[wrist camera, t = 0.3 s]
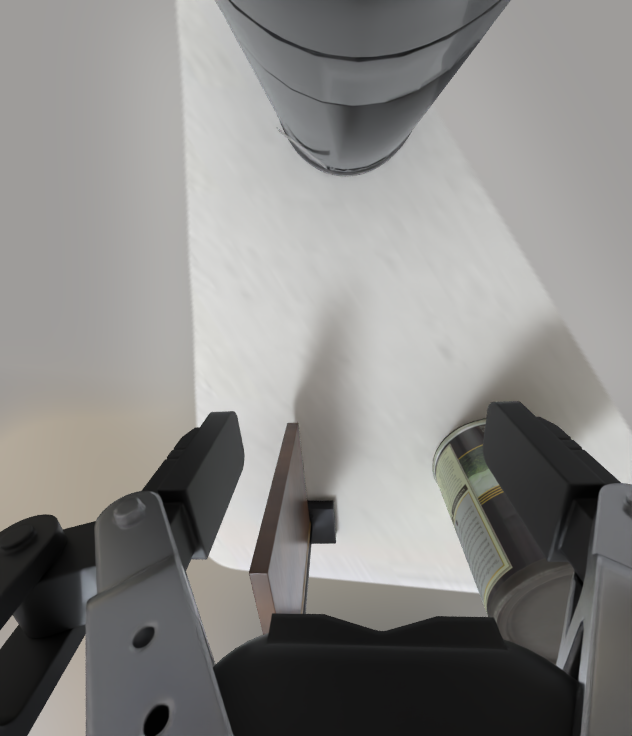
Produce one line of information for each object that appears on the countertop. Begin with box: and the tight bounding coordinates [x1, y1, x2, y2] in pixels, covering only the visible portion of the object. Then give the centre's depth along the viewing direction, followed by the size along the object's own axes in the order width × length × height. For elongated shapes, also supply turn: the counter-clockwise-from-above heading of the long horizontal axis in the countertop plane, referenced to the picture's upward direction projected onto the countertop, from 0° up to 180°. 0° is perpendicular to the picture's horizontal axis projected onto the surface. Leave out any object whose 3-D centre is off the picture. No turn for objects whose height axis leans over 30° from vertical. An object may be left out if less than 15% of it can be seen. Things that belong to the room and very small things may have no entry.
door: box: [249, 423, 311, 635], centre depth 26 cm, size 13×1×14 cm, turn 4°
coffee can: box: [433, 419, 574, 665], centre depth 25 cm, size 10×10×14 cm
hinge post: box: [303, 501, 336, 614], centre depth 28 cm, size 5×6×17 cm
